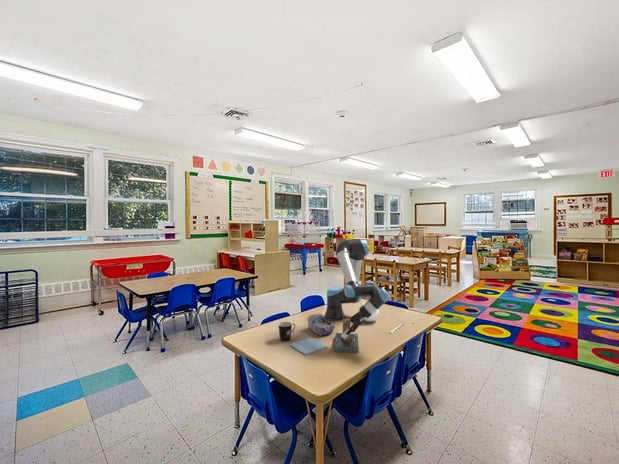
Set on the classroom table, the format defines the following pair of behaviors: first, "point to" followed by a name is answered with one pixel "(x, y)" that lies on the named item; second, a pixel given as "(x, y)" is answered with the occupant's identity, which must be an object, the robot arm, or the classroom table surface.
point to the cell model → (320, 324)
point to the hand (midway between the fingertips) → (342, 332)
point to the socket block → (346, 343)
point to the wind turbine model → (397, 328)
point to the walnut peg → (346, 326)
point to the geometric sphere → (373, 316)
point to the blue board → (308, 346)
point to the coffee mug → (285, 330)
